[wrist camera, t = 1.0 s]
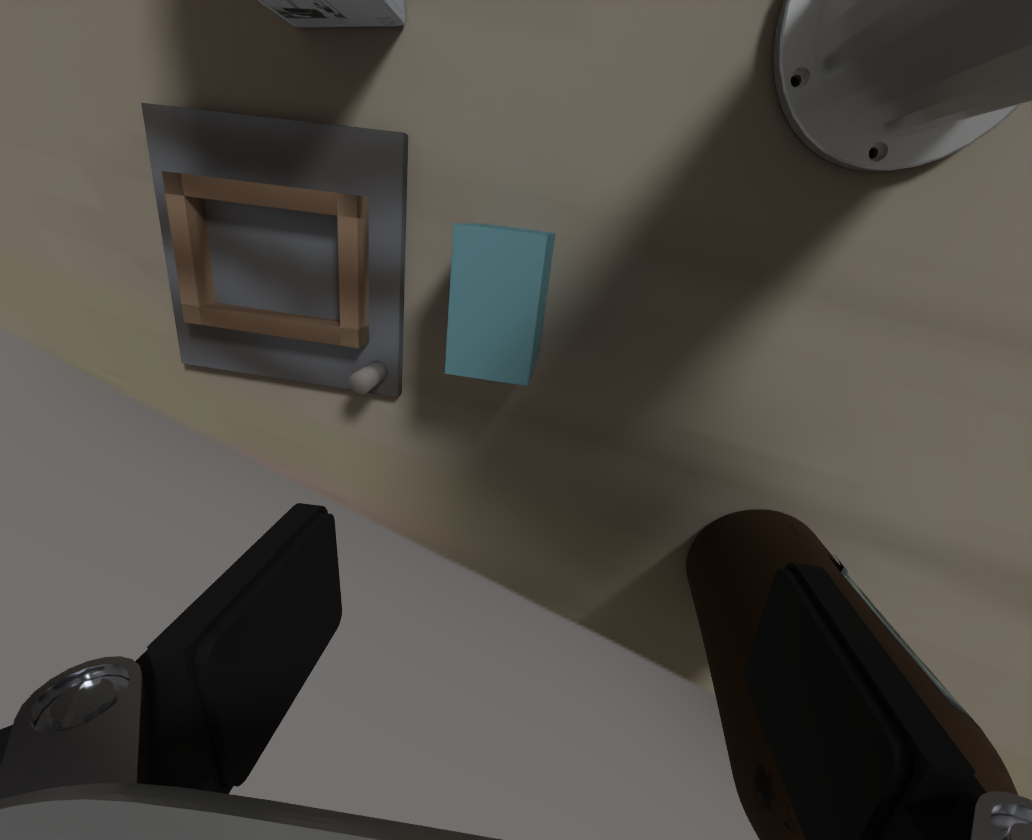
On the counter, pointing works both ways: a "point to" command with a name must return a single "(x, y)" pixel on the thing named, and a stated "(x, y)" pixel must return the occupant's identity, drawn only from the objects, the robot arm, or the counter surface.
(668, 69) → the counter surface
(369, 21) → the light bulb box
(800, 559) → the olive oil
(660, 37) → the counter surface
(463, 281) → the teal block
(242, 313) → the board
